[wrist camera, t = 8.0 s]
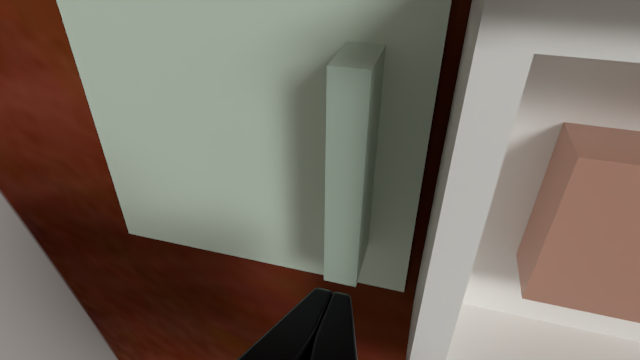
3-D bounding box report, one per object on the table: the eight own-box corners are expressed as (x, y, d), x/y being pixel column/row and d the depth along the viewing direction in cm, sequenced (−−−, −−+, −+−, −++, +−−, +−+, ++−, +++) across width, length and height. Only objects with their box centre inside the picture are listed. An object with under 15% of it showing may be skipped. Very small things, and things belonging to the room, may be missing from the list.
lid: (406, 278, 19) (396, 338, 16) (138, 223, 22) (95, 266, 19) (458, -42, 12) (455, -25, 9) (57, -57, 15) (-27, -47, 12)
